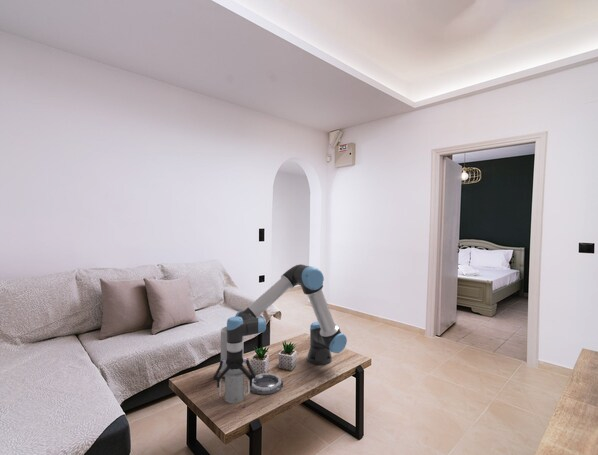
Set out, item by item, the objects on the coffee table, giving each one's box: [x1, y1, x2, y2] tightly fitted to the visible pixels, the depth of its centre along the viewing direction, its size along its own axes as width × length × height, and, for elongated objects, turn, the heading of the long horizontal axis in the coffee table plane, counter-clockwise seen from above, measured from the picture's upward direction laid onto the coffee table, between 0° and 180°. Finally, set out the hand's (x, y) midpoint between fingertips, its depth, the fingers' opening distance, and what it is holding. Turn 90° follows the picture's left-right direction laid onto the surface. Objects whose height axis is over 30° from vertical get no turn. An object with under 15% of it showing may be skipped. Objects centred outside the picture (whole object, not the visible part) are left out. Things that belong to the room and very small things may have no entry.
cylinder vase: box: [220, 326, 244, 378], centre depth 178 cm, size 12×12×25 cm
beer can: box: [224, 369, 246, 404], centre depth 154 cm, size 10×10×12 cm
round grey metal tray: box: [250, 372, 284, 396], centre depth 165 cm, size 18×18×2 cm
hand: (234, 392), depth 154 cm, fingers open, 13 cm apart
